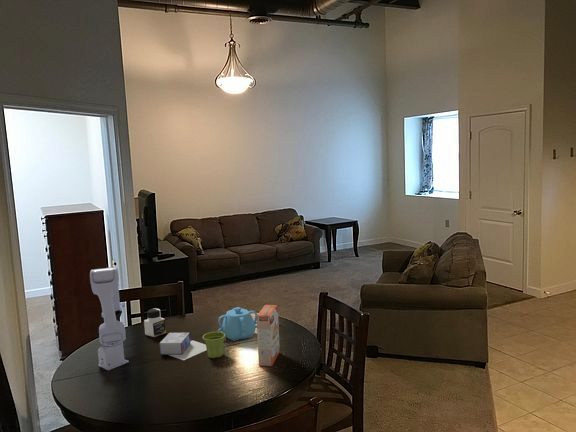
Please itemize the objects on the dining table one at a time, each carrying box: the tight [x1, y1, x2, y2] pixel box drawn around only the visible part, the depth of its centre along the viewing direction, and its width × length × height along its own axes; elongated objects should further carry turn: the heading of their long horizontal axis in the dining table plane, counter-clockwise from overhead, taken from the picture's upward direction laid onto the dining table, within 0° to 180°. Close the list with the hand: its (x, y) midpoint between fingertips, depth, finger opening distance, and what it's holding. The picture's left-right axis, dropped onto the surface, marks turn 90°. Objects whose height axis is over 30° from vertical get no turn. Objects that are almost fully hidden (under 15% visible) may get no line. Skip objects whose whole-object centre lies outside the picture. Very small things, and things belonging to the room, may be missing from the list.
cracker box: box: [256, 304, 280, 367], centre depth 192 cm, size 14×6×21 cm, turn 168°
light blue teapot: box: [217, 306, 258, 342], centre depth 220 cm, size 16×16×14 cm
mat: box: [166, 339, 207, 361], centre depth 207 cm, size 16×14×1 cm
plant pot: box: [202, 331, 226, 359], centre depth 200 cm, size 9×9×9 cm
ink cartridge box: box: [159, 332, 191, 355], centre depth 209 cm, size 10×6×14 cm
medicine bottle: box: [143, 307, 167, 338], centre depth 228 cm, size 7×7×12 cm
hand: (115, 327), depth 210 cm, fingers closed
